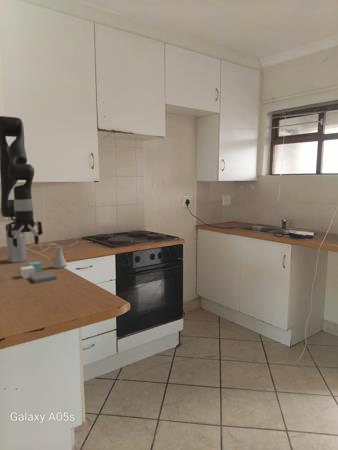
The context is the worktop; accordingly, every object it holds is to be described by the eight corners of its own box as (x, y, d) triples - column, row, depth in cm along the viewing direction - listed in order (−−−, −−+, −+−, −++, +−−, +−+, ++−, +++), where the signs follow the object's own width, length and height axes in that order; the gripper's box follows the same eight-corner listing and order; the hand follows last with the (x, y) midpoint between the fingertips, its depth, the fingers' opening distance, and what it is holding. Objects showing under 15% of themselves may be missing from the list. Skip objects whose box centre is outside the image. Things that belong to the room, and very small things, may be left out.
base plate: (29, 278, 145) (29, 274, 145) (50, 274, 150) (49, 271, 150) (35, 283, 138) (35, 279, 138) (56, 279, 143) (56, 275, 143)
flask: (52, 265, 167) (51, 246, 165) (67, 264, 169) (66, 245, 168) (52, 269, 160) (51, 249, 159) (67, 267, 162) (66, 248, 161)
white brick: (20, 275, 149) (20, 267, 149) (32, 274, 152) (31, 265, 152) (23, 278, 145) (23, 269, 145) (35, 276, 148) (34, 267, 148)
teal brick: (28, 270, 158) (27, 262, 157) (39, 269, 161) (38, 261, 160) (31, 273, 154) (30, 264, 153) (42, 271, 157) (41, 263, 156)
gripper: (37, 208, 152) (40, 242, 154) (4, 210, 143) (7, 246, 146) (42, 209, 146) (44, 244, 148) (8, 211, 138) (10, 248, 140)
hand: (26, 245), depth 147 cm, fingers open, 8 cm apart
